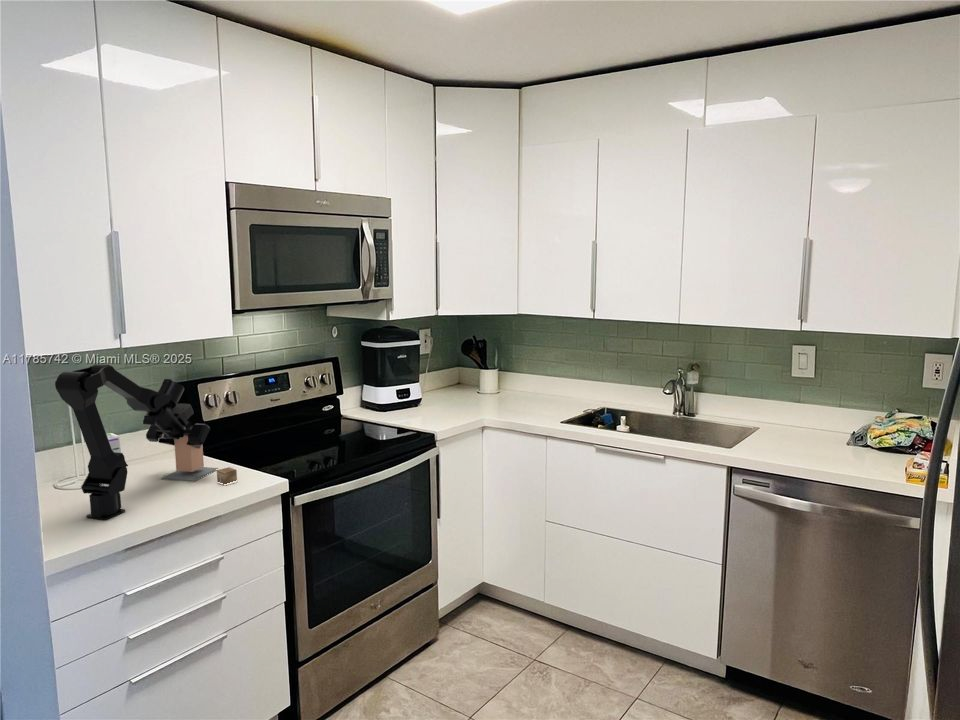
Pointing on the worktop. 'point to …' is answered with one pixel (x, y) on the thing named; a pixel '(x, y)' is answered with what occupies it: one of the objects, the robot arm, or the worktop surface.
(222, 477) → the letter cube
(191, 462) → the salmon pink pillar
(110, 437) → the syrup box
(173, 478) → the rubber mat
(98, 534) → the worktop surface
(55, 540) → the worktop surface
